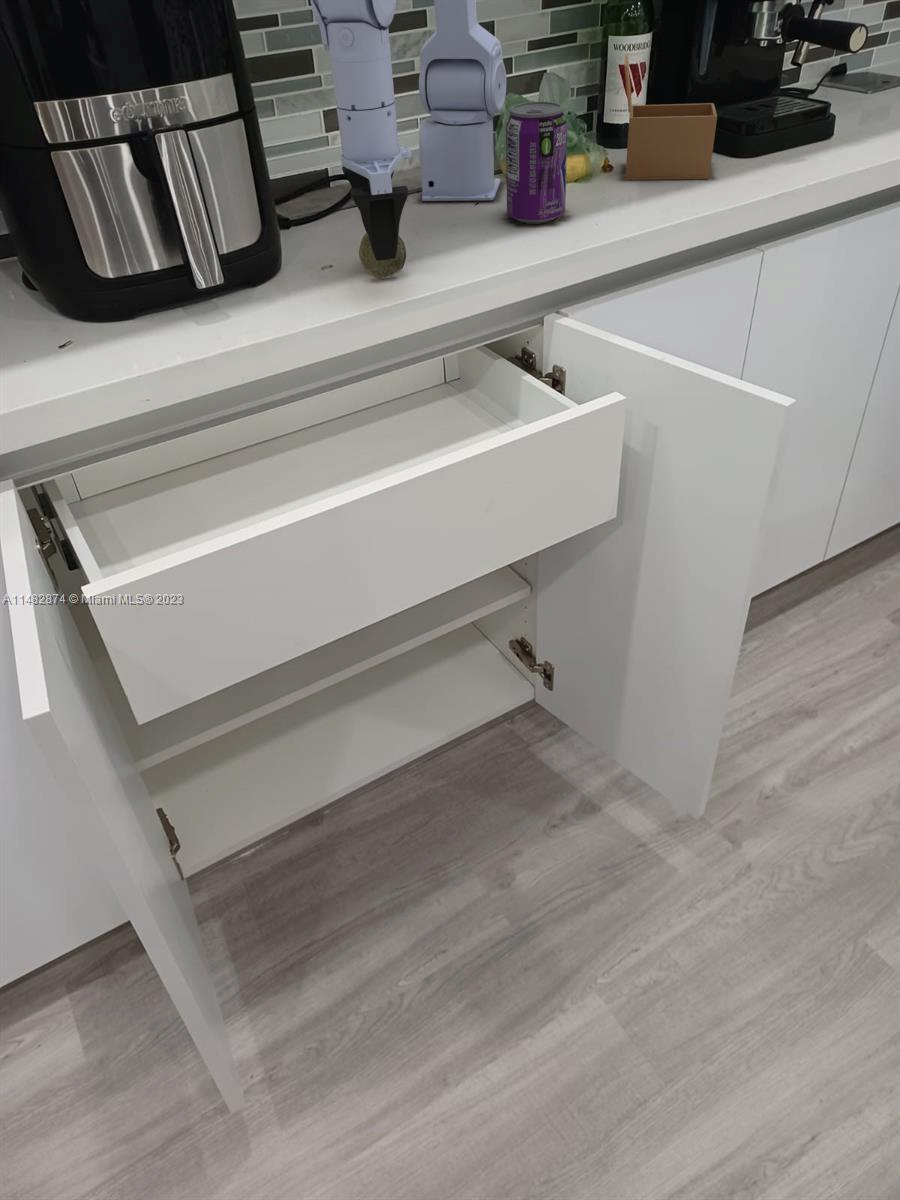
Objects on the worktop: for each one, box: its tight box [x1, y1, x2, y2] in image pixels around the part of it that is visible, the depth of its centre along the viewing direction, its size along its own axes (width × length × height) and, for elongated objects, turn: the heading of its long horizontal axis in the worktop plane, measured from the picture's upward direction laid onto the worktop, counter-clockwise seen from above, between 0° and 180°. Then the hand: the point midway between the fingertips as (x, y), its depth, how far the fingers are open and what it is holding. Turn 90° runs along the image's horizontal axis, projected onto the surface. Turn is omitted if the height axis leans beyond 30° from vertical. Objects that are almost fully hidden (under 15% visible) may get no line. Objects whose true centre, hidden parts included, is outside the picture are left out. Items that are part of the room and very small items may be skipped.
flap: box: [624, 54, 633, 114], centre depth 111 cm, size 5×7×1 cm
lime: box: [358, 232, 407, 279], centre depth 94 cm, size 4×5×5 cm
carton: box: [624, 102, 718, 181], centre depth 115 cm, size 11×7×7 cm, turn 81°
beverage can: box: [505, 100, 568, 225], centre depth 103 cm, size 7×7×12 cm
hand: (381, 246), depth 93 cm, fingers open, 7 cm apart
